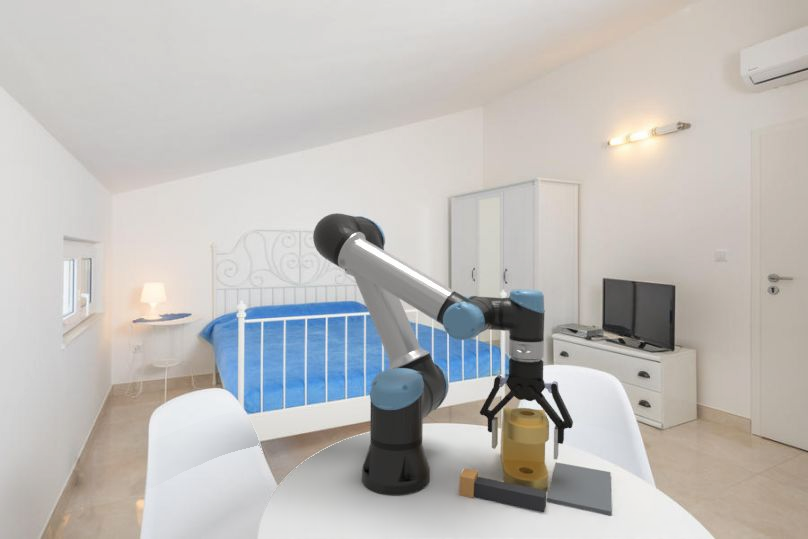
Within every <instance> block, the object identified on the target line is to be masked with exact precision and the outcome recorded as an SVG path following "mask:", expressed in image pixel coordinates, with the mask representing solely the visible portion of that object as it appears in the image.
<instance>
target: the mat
mask: <svg viewBox="0 0 808 539" xmlns="http://www.w3.org/2000/svg"><path fill="white" fill-rule="evenodd" d="M552 471H553V472H552V475H551V476H552V477H551V479H550V484H549V486H548V491H547V494H546V503H550V504H551V503H552V504H554V505H555V504H556V505H561V506H564V507H570V508H575V509H579V510H582V511H587V512H593V513H596V514H602V515H607V516H612V483H611V482H612V481H611V480H612V478H611V477H612V476H611V471H605V470H601V469H595V468H589V467H585V466H578V465H574V464H573V465H572V464H569V463H568V464H567V463H562V462H557V461H555V464H554V468H553V470H552Z"/></svg>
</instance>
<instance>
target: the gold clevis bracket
mask: <svg viewBox="0 0 808 539" xmlns="http://www.w3.org/2000/svg"><path fill="white" fill-rule="evenodd" d="M547 416H548V415H547V413H546V412H545V411H544V410H543V409H534V408H529V407H528V408H527V407H518V408H517V407H516V408H515V407H503V408H502V420H501V432H500V462H501V468H502V470H501V471H502V476H503V482H507V483H511V484H516V485H521V486H526V487H531V488H536V489H541V490H545V491H546V493H548V491H549V472H548V469H547V465H546V443H547V442H548V441H549V439H550V421H549V417H547Z"/></svg>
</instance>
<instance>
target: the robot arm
mask: <svg viewBox="0 0 808 539" xmlns="http://www.w3.org/2000/svg"><path fill="white" fill-rule="evenodd" d="M312 239H313V243H314V244H313V245H314V247H315V250H316V251H317V252H318V254H320V256H322V257H323V258H324V259H325V260H327V261H328V262H330V263H331V264H333V265H335V266H337V267H338V268H340V269H342V270H344V271H345V274H347V275H350V276H352V277H353V278H354V280H355V283H356V285H357V287H358V290H359V292H360V294H361V296H362V299H363V301H364V304H365V306H366V308H367V311H368V313H369V315H370V319H371V320H372V323H373V324H374V327H375V330H376V332H377V335H378V337H379V339H380V341H381V344H382V346H383V349H384V351H385V353H386V356H387V358H388V360H389V361H388V362H389V365H388V367H387V369H385V370H382V371H381V372H379V373H377V374H376V375H375V376H374V377H373V378H372V381H371V385H370V386H371V388H370V392H369V399H370V416H369V417H370V428H369V429H370V442H369V446H368V450H367V453H366V456H365V460H364V462H363V464H362V469H361V472H362V473H361V480H362V483H363V485H364V486H365V487H366V488H367V489H369V490H371V491H374V492H376V493H378V494H383V495H388V496H389V495H390V496H391V495H392V496H400V495H401V496H402V495H409V494H413V493H416V492H419V491H421V490H423V489H425V488H426V486H429V483H430V482H431V481H430V480H431V477H430V476H431V475H430V474H431V472H430V471H431V470H430V469H431V468H430V464H429V462H428V458H427V455H426V452H425V449H424V446H423V427H424V426H423V425H424V424H423V422H424V421H423V420H424V419H425V418H426V417H427V416H429V415H430V414H431V413H432V412H433V411H435V410H437V409H438V408H439V407H440V406H441V405H442V403H443V402H444V401H445V400H446V397H447V395H448V392H449V386H450V385H449V378H448V376H447V373H446V371H445V370H444V368H443V367H442V366H440V364H437V363H436V362H434V360H433V357H432V356H431V353H430V352H429V351H428V350H426V349H423V348H422V347H421V346H420V343H419V340H418V338H417V335H416V334H415V332H414V329H413V327H412V325H411V323H410V320H409V317H408V315H407V313H406V311H405V309H404V307H403V305H402V301H403V302H405V303H406V304H408V305H409V306H411V307H412V308H414V309H416V310H417V311H418V312H421V313H423V314H424V315H426V316H428V317H429V318H431V319H432V320H434V321H435V322H437V323H438V324H440V325H442V326H443V329H444V330H445V331H446V333H447V334H448V336H450V337H451V338H453V339H455V340H460V341H465V340H468V339H469V340H470V339H474V338H476V337H477V336H479V335H480V334H482V333H483V332H485V331H487V330H489V331H490V330H491V331H492V330H493V331H505V332H506V331H507V332H508V333H509V335H508V336H509V339H508V340H509V342H508V355H509V357H510V358H509V359H508V377H504V376H503V377H502V376H501V375H500V374H498V375H496V377H495V378H494V380H493V381H494V382H493V386H492V389H491V390H490V393H489V395H488V396H487V397H486V400H485V401H484V404H483V405H482V407H481V409H480V411H479V414H480V415H481V416H484V417H486V419H487V431H488V433H491V448H492V449H496V447H497V446H498V441H499V440H498V438H499V437H498V434H499V432H498V431H499V424H498V422H499V416H496V415H498V413H499V412H500V411H501V410H503V408H505V406H507V404H508V403H509V402H510V401H511V400H512V399H513V398H515V399H517V400H519V401H522V400H523V401H524V400H525V401H527V402H533V401H536V403H537V404H538V405H539V406H540V408H542V410H544V412H545V414H546V416H548V418H549V419H550V420H551V421H552V423H553V424H554V428H553V460H558V457H559V444H560V445H563V444H564V441H565V430H566V429H572V428H573V423H574V421H573V419H572V417H571V415H570V412H569V410H568V409H567V406H566V405H565V402H564V400H563V398H562V396H561V394H560V392H559V384H558V382H557V381H556V380H555V381H552V382H545V381H544V361H543V360H542V359H543V358H544V354H545V353H544V348H545V347H544V346H545V342H544V341H545V340H544V339H545V338H544V337H545V336H544V334H545V311H546V310H545V296H544V294H543V292H542V291H541V290H538V289H512V290H511V291H510V292H509V295H508V297H490V296H489V297H488V296H477V295H472V296H471V295H470V296H469V295H468V296H466V295H463V294H460V293H459V292H456V290H454V289H452V288H450V287H448V286H447V285H445V284H443V283H442V282H440V281H438V280H436V279H434V278H433V277H431V276H429V275H427V274H426V273H424V272H422V271H420V270H419V269H417V268H415V267H413V266H412V265H410V264H408V263H407V262H405V261H403V260H401V259H400V258H398V257H396V256H394V255H392V254H391V253H390V252H387V251H385V244H386V238H385V233H384V231H383V229H382V227H381V226H380V225H379V224H378V223H377V222H375V220H372V219H369V217H365V216H354V215H351V214H346V213H345V214H344V213H330V214H328V215H325V216H324V217H322V218H321V219H320V220H319V221H318V222H317V223H316V225H315V228H314V230H313V235H312ZM505 384H506V386H507V387H508V389H509V390H510V391H509V392H508V393H507V394H506V395H505V396H504V397H503V398H502V399H501V400H500V401H499V402H498V403H497V404H496V405H495V406H494V408H492V409H491V410H489V409H490V406H491V405H492V403H493V402H494V400H495V397H496V396H497V393H499V391H500V388H502V387H504V385H505ZM545 389H547V392H548V393H550V394H551V395H552V396H551V397H552V399H553V401H554V403H555V405H556V407H557V409H558V411H559V413H560V415H561V417H562V418H561V417H560V416H559V414H558V412H556V410H555V409H554V408H553V407H552V405H551V404H550V403H549V402H548V399H547V398H546V396H544V394H543V393H542V392H544V390H545Z"/></svg>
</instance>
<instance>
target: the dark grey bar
mask: <svg viewBox="0 0 808 539" xmlns="http://www.w3.org/2000/svg"><path fill="white" fill-rule="evenodd" d="M458 486H459V487H458V488H459V490H458V491H459V492H458V493H459V494H458V496H461V497H466V498H470V499H474V498H475V499H476V498H477V499H480V500H484V501H489V502H494V503H498V504H499V503H500V504H503V505H507V506H511V507H515V508H521V509H525V510H529V511H534V512H539V513H542V514H543V513H545V510H546V507H547V492H546V491H545V490H541V489H536V488H531V487H526V486H521V485H516V484H511V483H507V482H504V481H501V480H496V479H493V478H487V477H483V476H482V477H481V476H479V470H475V469H471V468H463V470H462V472H461V473H460V474H459V484H458Z"/></svg>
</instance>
